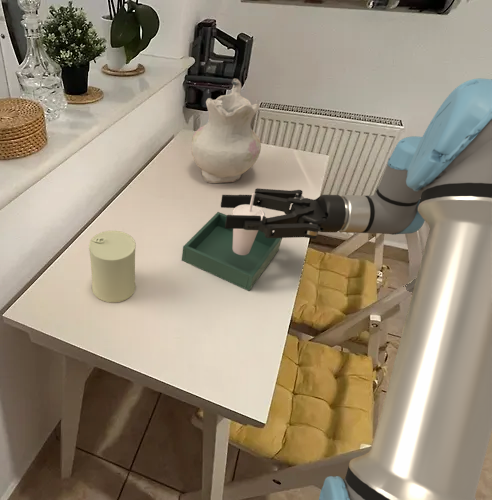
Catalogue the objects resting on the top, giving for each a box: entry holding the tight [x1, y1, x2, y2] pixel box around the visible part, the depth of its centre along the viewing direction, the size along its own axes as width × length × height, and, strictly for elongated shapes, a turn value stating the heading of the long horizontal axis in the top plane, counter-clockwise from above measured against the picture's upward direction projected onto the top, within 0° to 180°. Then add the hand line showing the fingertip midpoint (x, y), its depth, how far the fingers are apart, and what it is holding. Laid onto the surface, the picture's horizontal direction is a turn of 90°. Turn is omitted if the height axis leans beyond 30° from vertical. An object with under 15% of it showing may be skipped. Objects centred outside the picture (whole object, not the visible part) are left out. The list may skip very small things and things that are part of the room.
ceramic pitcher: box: [190, 77, 262, 184], centre depth 120 cm, size 22×20×25 cm
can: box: [88, 230, 137, 303], centre depth 87 cm, size 9×9×12 cm
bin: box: [181, 211, 283, 292], centre depth 98 cm, size 17×17×4 cm
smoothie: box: [231, 192, 266, 255], centre depth 88 cm, size 6×6×14 cm
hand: (224, 211), depth 86 cm, fingers closed on smoothie, 6 cm apart
